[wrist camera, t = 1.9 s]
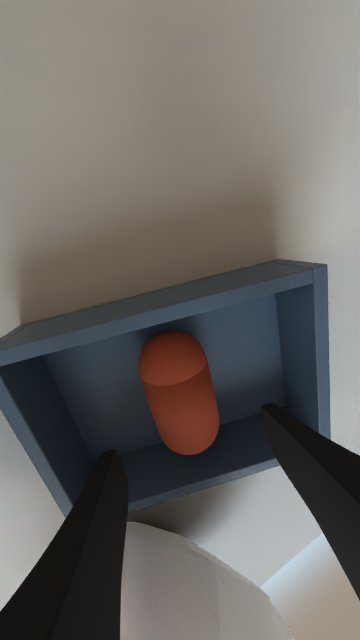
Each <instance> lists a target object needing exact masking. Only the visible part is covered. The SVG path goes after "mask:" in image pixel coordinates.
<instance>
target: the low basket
mask: <svg viewBox="0 0 360 640" xmlns="http://www.w3.org/2000/svg"><path fill="white" fill-rule="evenodd" d="M166 330H180V331H183V332H186V333H188V334H190V335H192V336H193V337H195V338H196V339H197V340H198V342H199V343H200V344H201V345H202V347H203V349H204V351H205V354H206V357H207V361H208V366H209V370H210V375H211V380H212V384H213V389H214V394H215V398H216V403H217V407H218V412H219V430H218V434H217V436H216V438H215V440H214V441H213V443H212V444H211V445H210V446H209V447H208V448H207V449H205V450H204V451H202V452H200V453H198V454H194V455H183V454H179V453H176V452H175V451H173V450H171V449H170V448H169V447H168V446H167V445H166V444H165V443H164V442H163V441H162V439H161V437H160V435H159V433H158V429H157V426H156V423H155V420H154V417H153V414H152V411H151V408H150V405H149V402H148V399H147V396H146V393H145V390H144V387H143V384H142V381H141V378H140V375H139V370H138V360H139V356H140V352H141V350H142V348H143V346H144V345H145V344H146V342H147V341H148V340H149V339H150V338H151V337H153V336H154V335H156V334H157V333H160V332H162V331H166ZM272 402H273V403H275V404H276V405H278V406H279V407H281V408H282V409H283V410H285V411H286V412H288V413H289V414H291V415H292V416H293V417H295V418H296V419H298V420H299V421H301V422H302V423H304V424H305V425H307V426H309V427H310V428H312V429H313V430H315V431H316V432H318V433H320V434H321V435H323V436H325V437H326V438H328V439H330V440H331V437H330V382H329V328H328V273H327V264H319V263H310V262H300V261H291V260H280V259H277V260H273V261H269V262H265V263H262V264H258V265H254V266H250V267H246V268H242V269H238V270H234V271H230V272H226V273H223V274H219V275H215V276H211V277H207V278H203V279H199V280H195V281H191V282H187V283H184V284H180V285H176V286H172V287H168V288H164V289H160V290H156V291H152V292H148V293H145V294H141V295H137V296H133V297H129V298H125V299H121V300H117V301H113V302H110V303H106V304H102V305H98V306H94V307H90V308H86V309H82V310H78V311H74V312H71V313H67V314H63V315H59V316H55V317H51V318H47V319H43V320H39V321H35V322H32V323H28V324H24V325H20V326H19V327H17V328H16V329H14V330H13V331H11V332H10V333H8V334H6V335H5V336H3V337H2V338H0V409H1V410H2V412H3V414H4V416H5V417H6V419H7V421H8V422H9V424H10V426H11V427H12V429H13V431H14V432H15V434H16V436H17V437H18V439H19V441H20V442H21V444H22V446H23V447H24V449H25V451H26V452H27V454H28V456H29V457H30V459H31V461H32V462H33V464H34V466H35V467H36V469H37V471H38V473H39V474H40V476H41V478H42V479H43V481H44V483H45V484H46V486H47V488H48V489H49V491H50V493H51V494H52V496H53V498H54V499H55V501H56V503H57V504H58V506H59V508H60V509H61V511H62V513H63V514H64V516H65V518H66V517H67V516H68V514H69V512H70V511H71V509H72V507H73V506H74V504H75V502H76V500H77V498H78V497H79V495H80V493H81V491H82V489H83V488H84V486H85V484H86V482H87V480H88V478H89V476H90V475H91V473H92V471H93V469H94V467H95V465H96V463H97V461H98V459H99V457H100V455H101V454H102V452H105V451H109V450H112V449H116V452H117V454H118V456H119V459H120V461H121V463H122V466H123V468H124V470H125V473H126V475H127V477H128V513H130V512H133V511H136V510H140V509H143V508H146V507H149V506H152V505H155V504H159V503H162V502H165V501H168V500H171V499H175V498H178V497H181V496H184V495H187V494H190V493H194V492H197V491H200V490H203V489H206V488H210V487H213V486H216V485H219V484H222V483H225V482H229V481H232V480H235V479H238V478H241V477H245V476H248V475H251V474H254V473H257V472H260V471H264V470H267V469H270V468H273V467H276V466H279V465H280V464H279V462H278V461H277V459H276V457H275V456H274V454H273V452H272V450H271V448H270V446H269V444H268V442H267V440H266V438H265V432H264V425H263V418H262V411H261V406H262V405H265V404H268V403H272Z"/></svg>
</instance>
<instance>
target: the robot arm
mask: <svg viewBox="0 0 360 640" xmlns="http://www.w3.org/2000/svg"><path fill="white" fill-rule="evenodd" d="M261 411H262V418H263V425H264V432H265V438H266V440H267V442H268V444H269V446H270V448H271V450H272V452H273V454H274V456H275V457H276V459H277V461H278V462H279V464H280V465H281V467H282V468H283V470H284V472H285V473H286V475H287V476H288V478H289V479H290V481H291V482H292V484H293V485H294V487H295V488H296V490H297V491H298V493H299V494H300V496H301V497H302V499H303V500H304V502H305V503H306V505H307V506H308V508H309V509H310V511H311V513H312V514H313V516H314V518H315V519H316V521H317V523H318V524H319V526H320V528H321V530H322V532H323V533H324V535H325V537H326V539H327V541H328V542H329V544H330V546H331V547H332V549H333V551H334V553H335V555H336V557H337V559H338V561H339V562H340V564H341V566H342V568H343V570H344V572H345V573H346V575H347V577H348V579H349V581H350V583H351V585H352V587H353V589H354V590H355V592H356V594H357V596H358V598H359V600H360V456H359V455H357V454H355V453H353V452H351V451H349V450H347V449H346V448H344V447H342V446H340V445H338V444H337V443H335V442H333V441H331V440H330V439H328V438H326V437H325V436H323V435H321V434H320V433H318V432H316V431H315V430H313V429H312V428H310V427H309V426H307V425H305V424H304V423H302V422H301V421H299V420H298V419H296V418H295V417H293V416H292V415H291V414H289V413H288V412H286V411H285V410H283V409H282V408H281V407H279V406H278V405H276V404H275V403H273V402H272V403H268V404H265V405H262V406H261ZM127 516H128V477H127V475H126V473H125V470H124V468H123V466H122V463H121V461H120V459H119V456H118V454H117V452H116V449H112V450H109V451H105V452H102V454H101V455H100V457H99V459H98V461H97V463H96V465H95V467H94V469H93V471H92V473H91V475H90V476H89V478H88V480H87V482H86V484H85V486H84V488H83V489H82V491H81V493H80V495H79V497H78V498H77V500H76V502H75V504H74V506H73V507H72V509H71V511H70V512H69V514H68V516H67V517H66V519H65V521H64V522H63V524H62V526H61V527H60V529H59V530H58V532H57V534H56V535H55V537H54V538H53V540H52V541H51V543H50V544H49V546H48V547H47V549H46V550H45V552H44V553H43V555H42V556H41V558H40V559H39V561H38V562H37V564H36V565H35V566H34V568H33V569H32V570H31V572H30V573H29V575H28V576H27V577H26V579H25V580H24V581H23V583H22V584H21V585H20V587H19V588H18V589H17V591H16V592H15V593H14V595H13V596H12V597H11V599H10V600H9V601H8V603H7V604H6V605H5V606H4V608H3V609H2V610H1V611H0V640H120V615H121V581H122V567H123V557H124V547H125V537H126V526H127Z"/></svg>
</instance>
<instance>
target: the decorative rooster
mask: <svg viewBox="0 0 360 640" xmlns="http://www.w3.org/2000/svg"><path fill="white" fill-rule="evenodd" d="M120 640H295V639H294V637H293V635H292V633H291V631H290V629H289V627H288V625H287V624H286V622H285V620H284V619H283V617H282V616H281V614H280V613H279V612H278V610H277V609H276V608H275V607H274V606H273V605H272V603H271V600H270V598H269V596H268V595H267V594H266V593H265V592H264V591H263V590H261V589H260V588H259V587H258V586H256V585H255V584H254V583H252V582H251V581H250V580H248V579H247V578H246V577H244V576H243V575H241V574H240V573H239V572H237V571H236V570H234V569H233V568H231V567H230V566H229V565H227V564H226V563H224V562H223V561H221V560H220V559H218V558H217V557H215V556H213V555H212V554H210V553H209V552H207V551H205V550H204V549H202V548H201V547H199V546H197V545H196V544H194V543H192V542H191V541H189V540H187V539H186V538H185V537H183V536H181V535H180V534H176V533H173V532H169V531H166V530H162V529H159V528H156V527H153V526H150V525H147V524H143V523H139V522H132V521H131V522H127V526H126V537H125V547H124V557H123V567H122V581H121V615H120Z"/></svg>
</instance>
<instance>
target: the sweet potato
mask: <svg viewBox="0 0 360 640" xmlns="http://www.w3.org/2000/svg"><path fill="white" fill-rule="evenodd" d="M138 370H139V375H140V378H141V381H142V384H143V387H144V390H145V393H146V396H147V399H148V402H149V405H150V408H151V411H152V414H153V417H154V420H155V423H156V426H157V429H158V433H159V435H160V437H161V439H162V441H163V442H164V443H165V444H166V445H167V446H168V447H169V448H170V449H171V450H173V451H175V452H176V453H179V454H183V455H194V454H198V453H200V452H202V451H204V450H205V449H207V448H208V447H209V446H210V445H211V444H212V443H213V441H214V440H215V438H216V436H217V434H218V430H219V412H218V407H217V403H216V398H215V394H214V389H213V384H212V380H211V375H210V370H209V366H208V361H207V357H206V354H205V351H204V349H203V347H202V345H201V344H200V343H199V342H198V340H197V339H196V338H195V337H193V336H192V335H190V334H188V333H186V332H183V331H180V330H166V331H162V332H160V333H157V334H156V335H154V336H153V337H151V338H150V339H149V340H148V341H147V342H146V344H145V345H144V346H143V348H142V350H141V352H140V356H139V360H138Z"/></svg>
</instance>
